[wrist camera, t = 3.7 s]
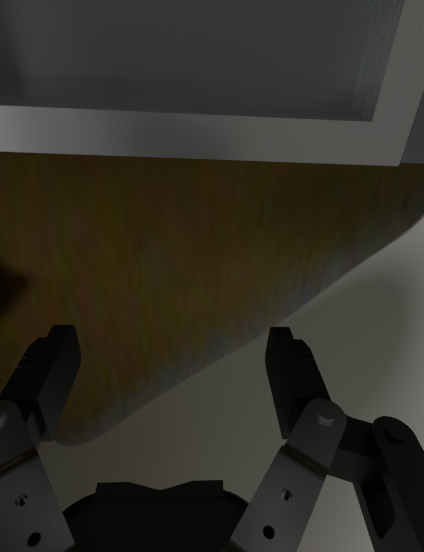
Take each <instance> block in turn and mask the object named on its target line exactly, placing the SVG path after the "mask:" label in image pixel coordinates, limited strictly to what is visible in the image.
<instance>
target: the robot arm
mask: <svg viewBox="0 0 424 552" xmlns="http://www.w3.org/2000/svg"><path fill="white" fill-rule="evenodd" d="M80 363H81V351H80V346H79V342H78V337H77V332H76V328H75V326H74V325H53V326H52V328H51V330H50V331H49V333H48V335H47V337H46V338H38V339H37V340H36V341H35V342H33V343H32V344H31V345H30V346H29V347H28V348H27V350H26V352H25V354H24V355H23V357H22V359H21V360H20V362H19V364H18V366H17V368H16V369H15V371H14V372H13V374H12V376H11V378H10V379H9V381H8V383H7V385H6V386H5V388H4V390H3V391H2V393H1V395H0V552H296V551H297V548H298V546H299V543H300V541H301V538H302V536H303V533H304V531H305V528H306V526H307V523H308V521H309V518H310V516H311V513H312V511H313V508H314V505H315V503H316V501H317V498H318V496H319V493H320V490H321V488H322V486H323V483H324V481H325V478H326V475H331V476H334V477H337V478H340V479H343V480H346V481H349V482H352V483H353V485H354V488H355V491H356V495H357V497H358V501H359V504H360V507H361V510H362V514H363V516H364V520H365V523H366V526H367V529H368V532H369V536H370V539H371V542H372V545H373V548H374V551H375V552H424V451H423V449H422V447H421V445H420V443H419V441H418V440H417V437H416V435H415V434H414V432H413V431H412V430H411V429H410V428H409V427H408V426H407V425H406V424H404V423H403V422H401V421H400V420H398V419H396V418H392V417H388V416H382V417H379V418H377V419H375V421H374V422H373V423H369V422H365V421H362V420H358V419H355V418H352V417H349V416H347V415H345V413H344V412H343V410H342V409H341V408H340V407H339V406H338V405H337V404H335V403H334V402H332V401H331V399H330V396H329V394H328V391H327V389H326V387H325V384H324V382H323V379H322V376H321V374H320V372H319V370H318V367H317V364H316V362H315V361H314V357H313V354H312V352H311V349H310V348H309V347H308V346H307V345H306V343H304V342H303V340H296V339H293V336H292V333H291V330H290V328H289V327H271V328H270V331H269V336H268V342H267V348H266V354H265V365H266V370H267V375H268V379H269V383H270V387H271V392H272V396H273V400H274V405H275V409H276V413H277V418H278V422H279V426H280V431H281V435H282V438H283V439H288V440H287V442H286V443H285V445H284V446H281V448H280V449H279V451H278V453H277V455H276V456H275V458H274V460H273V462H272V463H271V465H270V467H269V469H268V471H267V472H266V474H265V476H264V478H263V480H262V482H261V483H260V485H259V487H258V489H257V491H256V492H255V494H254V496H253V498H252V500H251V501H250V503H248V502H247V501H245V500H244V499H243V498H241V497H240V496H238V495H236V494H234V493H231V492H229V491H225V490H223V480H209V481H191V482H187V483H184V484H180V485H177V486H174V487H170V488H167V489H163V490H156V489H153V488H149V487H145V486H141V485H138V484H134V483H130V482H113V483H97V488H96V492H95V494H91V495H89V496H86V497H84V498H82V499H80V500H79V501H77V502H75V503H74V504H72V505H71V506H69V507H68V508H67V509H65V510H64V511H63V512H62V511H61V508H60V506H59V503H58V501H57V499H56V496H55V494H54V491H53V489H52V486H51V484H50V481H49V479H48V477H47V474H46V472H45V469H44V467H43V464H42V462H41V460H40V457H39V455H38V452H37V450H38V447H39V445H40V442H41V441H52V439H53V437H54V434H55V431H56V429H57V426H58V423H59V421H60V418H61V415H62V413H63V410H64V407H65V405H66V402H67V399H68V397H69V394H70V391H71V389H72V386H73V383H74V381H75V378H76V375H77V373H78V370H79V367H80Z"/></svg>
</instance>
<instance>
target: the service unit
mask: <svg viewBox="0 0 424 552" xmlns="http://www.w3.org/2000/svg"><path fill="white" fill-rule="evenodd" d="M0 151H1V152H28V153H55V154H82V155H109V156H136V157H163V158H190V159H217V160H244V161H271V162H298V163H325V164H352V165H379V166H399V163H421V164H424V0H0Z"/></svg>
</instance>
